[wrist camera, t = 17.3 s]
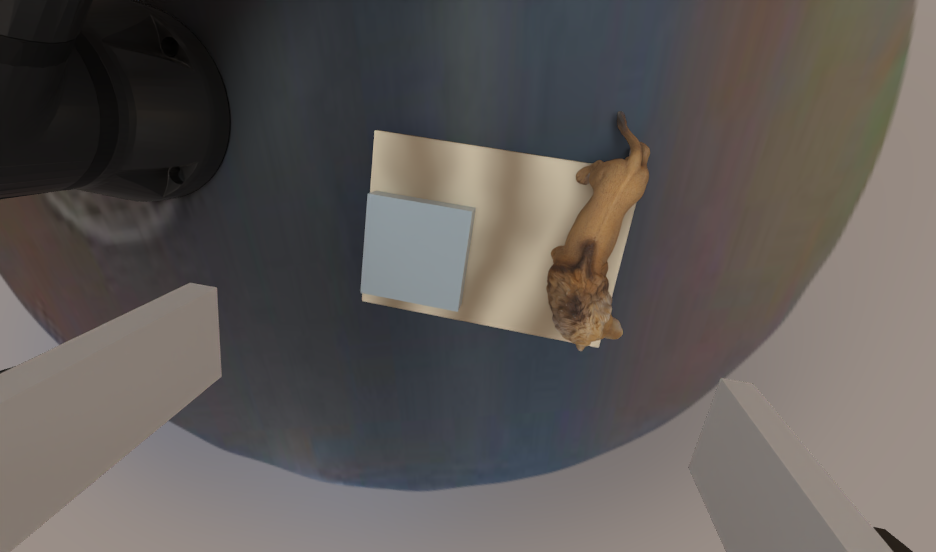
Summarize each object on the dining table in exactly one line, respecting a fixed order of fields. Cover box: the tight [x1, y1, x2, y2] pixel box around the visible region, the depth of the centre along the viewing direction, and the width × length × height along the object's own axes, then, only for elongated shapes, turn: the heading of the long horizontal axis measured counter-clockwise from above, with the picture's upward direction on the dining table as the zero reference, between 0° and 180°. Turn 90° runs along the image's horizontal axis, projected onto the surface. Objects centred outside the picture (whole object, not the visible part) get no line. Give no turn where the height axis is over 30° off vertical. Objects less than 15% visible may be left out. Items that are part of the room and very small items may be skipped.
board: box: [362, 130, 636, 348], centre depth 37 cm, size 20×14×1 cm
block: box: [360, 191, 476, 312], centre depth 36 cm, size 8×2×8 cm
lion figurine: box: [546, 111, 650, 351], centre depth 30 cm, size 15×5×9 cm, turn 171°
